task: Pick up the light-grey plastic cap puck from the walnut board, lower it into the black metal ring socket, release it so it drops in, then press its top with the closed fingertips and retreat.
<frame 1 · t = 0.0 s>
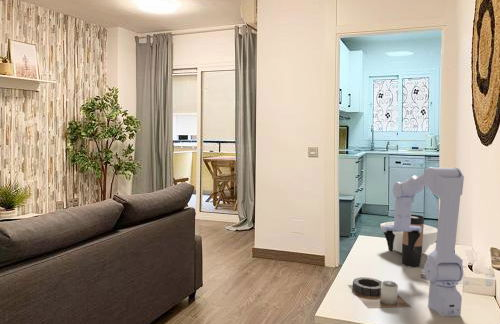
hand: (400, 250, 155), 10 cm above the table, fingers open, 7 cm apart
socket board: (377, 298, 136), on the table
travel mug: (410, 264, 172), on the table
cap: (388, 301, 132), point 1 cm above the table, touching socket board
bowl: (408, 252, 188), on the table
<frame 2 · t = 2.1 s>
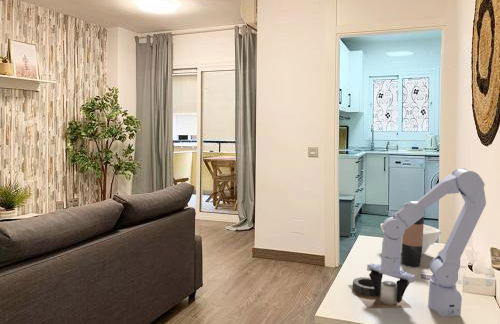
hand: (388, 298, 132), 2 cm above the table, fingers open, 6 cm apart
nothing on the table moved.
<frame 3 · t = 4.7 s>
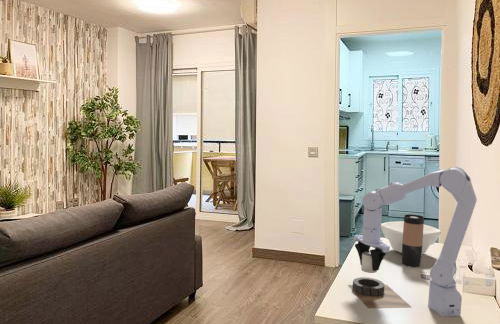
hand: (369, 267, 140), 9 cm above the table, fingers closed on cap, 5 cm apart
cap: (369, 270, 140), point 8 cm above the table, touching gripper
everything else where it was.
when the fingers open (4 cm above the table, at t = 6.4 s): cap drops 2 cm, resting on socket board.
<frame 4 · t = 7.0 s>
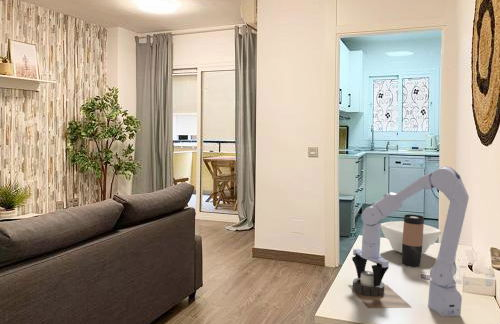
hand: (368, 281, 140), 4 cm above the table, fingers open, 7 cm apart
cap: (367, 290, 140), point 1 cm above the table, touching socket board
everything else where it was.
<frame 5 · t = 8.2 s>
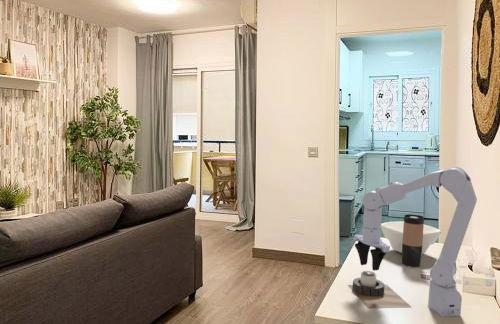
hand: (369, 267, 140), 9 cm above the table, fingers open, 5 cm apart
nothing on the table moved.
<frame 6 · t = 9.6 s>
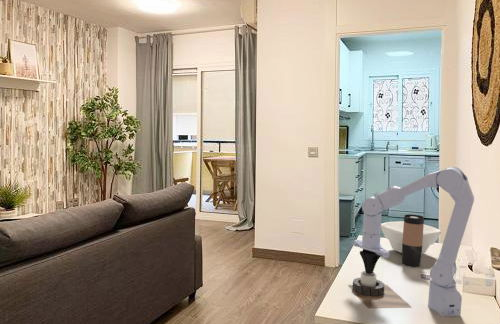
hand: (369, 272, 140), 7 cm above the table, fingers closed
nothing on the table moved.
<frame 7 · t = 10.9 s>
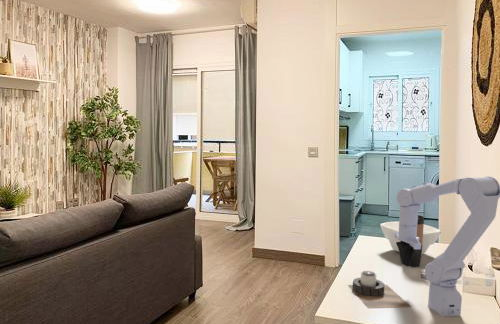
hand: (405, 264, 141), 10 cm above the table, fingers closed
nothing on the table moved.
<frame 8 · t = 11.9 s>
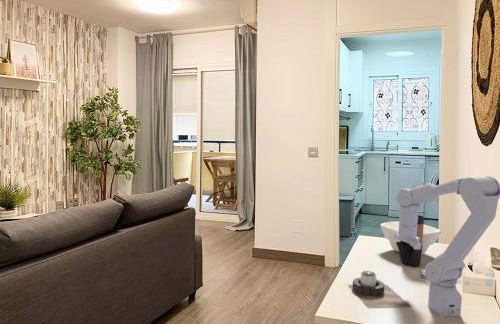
hand: (405, 264, 141), 10 cm above the table, fingers closed
nothing on the table moved.
at the end: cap 0.2 cm from the target spot on the socket board, point 1.0 cm above the socket board's base; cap tilted 0°; the gripper is holding nothing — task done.
